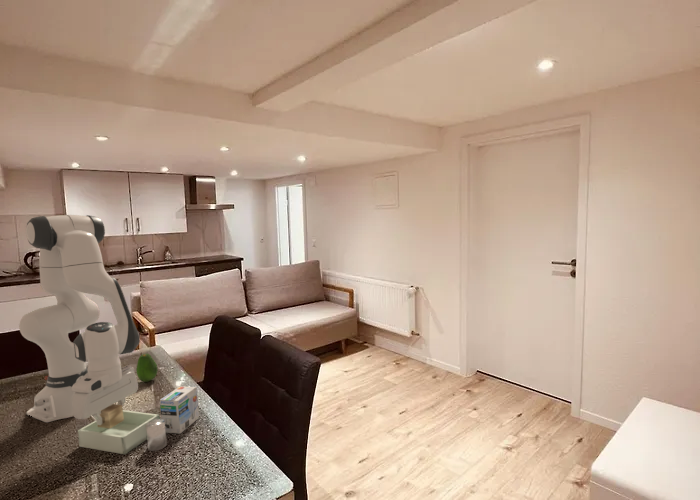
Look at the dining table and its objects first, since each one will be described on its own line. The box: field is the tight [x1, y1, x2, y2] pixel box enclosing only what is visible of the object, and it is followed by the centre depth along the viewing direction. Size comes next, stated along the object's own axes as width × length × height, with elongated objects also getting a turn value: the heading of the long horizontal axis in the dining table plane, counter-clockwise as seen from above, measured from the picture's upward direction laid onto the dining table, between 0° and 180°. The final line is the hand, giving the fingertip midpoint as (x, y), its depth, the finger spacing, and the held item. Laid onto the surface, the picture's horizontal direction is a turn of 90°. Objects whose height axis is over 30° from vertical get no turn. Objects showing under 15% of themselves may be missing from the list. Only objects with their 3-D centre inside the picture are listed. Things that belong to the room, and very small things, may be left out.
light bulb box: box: [159, 385, 200, 434], centre depth 130 cm, size 11×7×11 cm, turn 168°
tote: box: [77, 409, 161, 455], centre depth 124 cm, size 18×14×5 cm
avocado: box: [135, 353, 159, 383], centre depth 168 cm, size 8×8×12 cm
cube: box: [98, 403, 124, 429], centre depth 124 cm, size 5×5×5 cm
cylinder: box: [146, 418, 168, 452], centre depth 118 cm, size 5×5×7 cm
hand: (110, 418), depth 125 cm, fingers closed on cube, 5 cm apart
